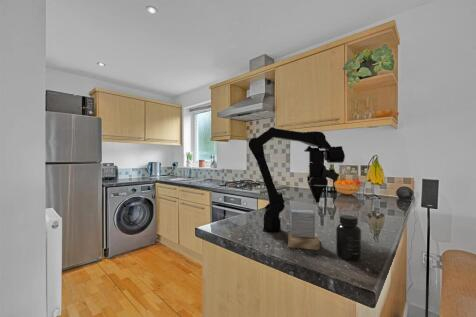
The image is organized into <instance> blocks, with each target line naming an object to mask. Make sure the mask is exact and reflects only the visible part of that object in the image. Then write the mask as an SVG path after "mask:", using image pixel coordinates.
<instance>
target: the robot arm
mask: <svg viewBox="0 0 476 317" xmlns="http://www.w3.org/2000/svg"><path fill="white" fill-rule="evenodd" d="M326 138H327V137H326V135H325V134H324V132H322V131H305V132H304V131H303V132H302V131H295V130H289V129H281V128H275V127H269V128H268V129H267V130H266V131H264V132H262V133H261V134H260V135H259V136H258V137H252V138H251V139H250V140H249V142H248V148H249V149H250V151H251V153H252V156H253V157H254V158H255V161H256V163H257V166H258V168H259V172H260V173H261V176H262V180H263V182H264V187H265V188H266V192H267V197H268V199H267V200H268V203H267V204H266V205H265V206H264V207H263V208H264V209H263V210H264V213H263V227H262V231H263V232H272V233H279V232H280V230H281V228H282V227H281V226H282V225H281V223H282V222H281V220H282V219H281V217H280V213H282V212H283V211H284V209H285V204H286V201H285V200H284V197H283V193H282V192H281V190H279V191H277V189H276V185H275V184H274V180H273V178H272V175H271V171H270V169H269V166H268V164H267V160H266V158H265V150H264V145H265V144H267V143H268V142H270V140H272V139H280V140H284V141H285V140H286V141H294V142H298V143H299V142H300V143H302V144H305V145H308V146H307V147H306V148H305V149H304V152H306V153H307V152H308V156H309V157H308V160H309V162H308V163H309V164H308V170H309V172H308V173H309V174H308V175H307V177H306V178H307V179H306V181H307V184H308V187H309V190H310V192H311V195H312V197H313V199H314V200H315V203H317V204H319V203H320V200H321V197H322V196H321V195H322V194H323V190H324V189H326V188H327V187H328V185H329V184H328V179H331V180H332V181H334V182H337V181H338V179H339V177H340V173H338V172H335V169H332V168H329V169H326V166H325V161H326V163H327V164H328V163H331V164H332V163H333V164H342V163H344V162H345V158H346V157H345V156H346V155H345V152H344V150H343V146H342V145H341V146H340V145H339V146H331V144H330V143H329V142H328V141H327V139H326Z"/></svg>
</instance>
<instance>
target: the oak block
mask: <svg viewBox="0 0 476 317" xmlns="http://www.w3.org/2000/svg"><path fill="white" fill-rule="evenodd" d="M287 232H288V233H287V247H288V248H295V249H297V248H298V249H305V250H316V251H319V250H320V249H321V248H320V247H321V246H320V245H321V244H320V239H319V236H318V234H317V232H315V238H305V237H291V230H288V231H287Z"/></svg>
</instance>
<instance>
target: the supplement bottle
mask: <svg viewBox="0 0 476 317" xmlns="http://www.w3.org/2000/svg"><path fill="white" fill-rule="evenodd" d="M358 219H359V217H357V216H354V215H351V214H350V215H348V214H342V215H341V214H340V216H339V224H338V225H337V226H336V229H335V230H336V231H335V232H336V233H335V234H336V235H335V240H336V241H335V242H336V248H335V250H336V251H335V252H336V256H338V258H340V259H342V260H345V261H348V262H349V261H350V262H357V261H360V260H361V258H362V229H361V227H359V226H358V224H359V221H358Z"/></svg>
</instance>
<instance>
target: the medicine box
mask: <svg viewBox="0 0 476 317" xmlns="http://www.w3.org/2000/svg"><path fill="white" fill-rule="evenodd" d="M315 222H316V214H315V212H314V210H309V209H308V210H307V209H305V210H304V209H290V231H291V237H305V238H315V233H316V232H315V231H316V225H315V224H316V223H315Z"/></svg>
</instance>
